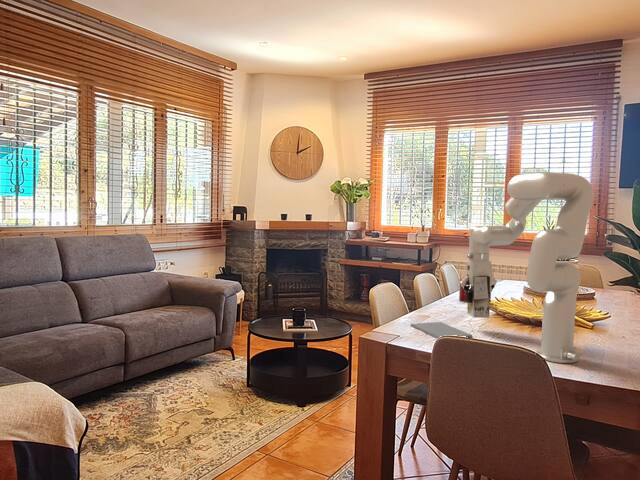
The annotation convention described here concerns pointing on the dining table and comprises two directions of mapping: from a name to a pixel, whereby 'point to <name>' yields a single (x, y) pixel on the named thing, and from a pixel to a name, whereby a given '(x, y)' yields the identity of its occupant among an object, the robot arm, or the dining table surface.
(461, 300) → the soda can
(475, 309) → the coffee box
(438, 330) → the mat
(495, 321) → the dining table surface
